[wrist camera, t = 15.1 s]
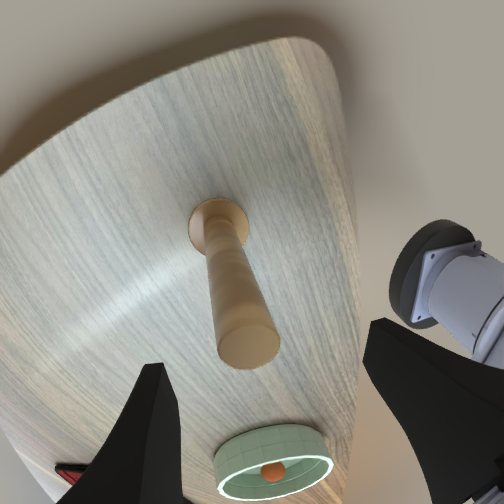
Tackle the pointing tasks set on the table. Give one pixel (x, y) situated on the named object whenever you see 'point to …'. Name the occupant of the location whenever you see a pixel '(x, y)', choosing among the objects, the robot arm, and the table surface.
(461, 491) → the robot arm
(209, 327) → the table surface
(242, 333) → the stick
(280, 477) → the ball
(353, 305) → the table surface
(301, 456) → the mixing bowl
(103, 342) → the table surface
